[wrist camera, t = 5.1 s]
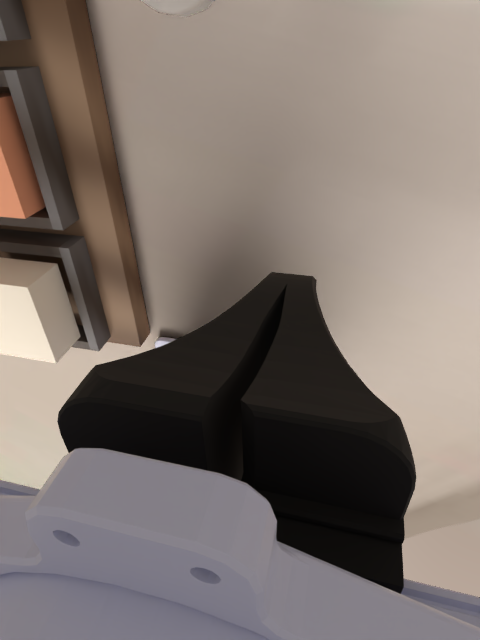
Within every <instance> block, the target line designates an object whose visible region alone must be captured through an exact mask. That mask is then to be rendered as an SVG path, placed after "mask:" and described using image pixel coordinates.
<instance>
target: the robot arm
mask: <svg viewBox="0 0 480 640" xmlns="http://www.w3.org/2000/svg"><path fill="white" fill-rule="evenodd" d="M58 425H59V429H60V433H61V436H62V438H63V440H64V443H65V445H66V447H67V450H68V452H69V454H67V455H66V456H64V457H63V458H62V459H61V461H60V462H59V464H58V465H57V467H56V468H55V470H54V471H53V472H52V474H51V475H50V477H49V478H48V480H47V481H46V483H45V484H44V485H43V487H42V488H41V490H39V489H35V488H31V487H27V486H23V485H19V484H15V483H11V482H7V481H3V480H0V640H480V597H476V596H472V595H468V594H464V593H460V592H456V591H452V590H448V589H444V588H440V587H436V586H431V585H427V584H423V583H419V582H415V581H411V580H407V579H403V561H402V543H403V541H404V535H405V534H404V515H405V513H406V510H407V507H408V505H409V502H410V500H411V497H412V494H413V492H414V489H415V482H416V472H415V465H414V460H413V456H412V452H411V448H410V445H409V441H408V438H407V435H406V432H405V430H404V427H403V424H402V422H401V419H400V417H399V416H398V415H397V414H396V413H395V412H394V411H393V410H391V409H390V408H389V407H388V406H387V405H386V404H384V403H383V402H382V401H381V400H380V399H379V398H378V397H376V396H375V395H374V394H373V393H372V392H371V391H370V390H369V389H368V388H367V387H366V385H365V384H364V383H363V382H362V381H361V379H360V378H359V377H358V376H357V374H356V373H355V372H354V371H353V369H352V368H351V367H350V366H349V364H348V363H347V361H346V360H345V358H344V357H343V355H342V354H341V352H340V350H339V349H338V347H337V345H336V344H335V342H334V340H333V338H332V336H331V334H330V332H329V330H328V327H327V325H326V323H325V320H324V318H323V315H322V312H321V309H320V306H319V302H318V298H317V293H316V279H315V278H314V277H313V276H304V275H294V274H284V273H274V272H272V273H270V274H269V275H268V276H267V277H266V278H265V279H263V280H262V281H261V282H260V283H259V284H258V285H257V286H256V287H255V288H254V289H253V290H251V291H250V292H249V293H248V294H247V295H246V296H244V297H243V298H242V299H241V300H240V301H238V302H237V303H236V304H235V305H234V306H232V307H231V308H230V309H228V310H227V311H225V312H224V313H223V314H221V315H220V316H219V317H217V318H216V319H214V320H212V321H211V322H209V323H208V324H206V325H204V326H202V327H201V328H199V329H197V330H195V331H193V332H191V333H189V334H187V335H185V336H183V337H181V338H178V339H173V338H166V337H159V338H158V339H157V340H156V342H155V349H152V350H149V351H146V352H143V353H140V354H137V355H134V356H131V357H127V358H123V359H119V360H116V361H112V362H108V363H104V364H100V365H95V367H94V368H93V369H92V370H91V371H90V372H89V373H88V375H87V376H86V377H85V378H84V379H83V381H82V382H81V383H80V385H79V386H78V387H77V388H76V390H75V391H74V392H73V394H72V395H71V396H70V398H69V399H68V400H67V401H66V403H65V404H64V405H63V407H62V408H61V410H60V411H59V414H58Z"/></svg>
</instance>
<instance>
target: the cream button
mask: <svg viewBox="0 0 480 640" xmlns="http://www.w3.org/2000/svg"><path fill="white" fill-rule="evenodd" d="M80 337H81V336H80V333H79V330H78V327H77V323H76V320H75V317H74V314H73V311H72V308H71V305H70V302H69V299H68V295H67V292H66V289H65V286H64V283H63V280H62V277H61V274H60V270H59V267H58V264H56V263H47V262H37V261H28V260H19V259H10V258H1V257H0V354H4V355H10V356H16V357H22V358H28V359H34V360H40V361H46V362H52V363H57V362H58V361H59V360H60V359H61V358H62V357H63V355H64V354H65V353H66V352H67V351H68V350H69V349H70V348H71V347H72V345H73V344H74V343H75V342H76V341H77V340H78V339H79V338H80Z"/></svg>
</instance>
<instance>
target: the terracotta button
mask: <svg viewBox="0 0 480 640" xmlns="http://www.w3.org/2000/svg"><path fill="white" fill-rule="evenodd" d="M45 207H46V205H45V202H44V199H43V196H42V192H41V189H40V186H39V183H38V180H37V176H36V173H35V170H34V167H33V163H32V160H31V157H30V154H29V151H28V147H27V144H26V141H25V138H24V135H23V131H22V128H21V125H20V122H19V118H18V115H17V112H16V109H15V106H14V102H13V99H12V96H11V93H10V92H0V217H9V218H21V219H26V218H28V217H30V216H31V215H33V214H35V213H36V212H38V211H40V210H41V209H43V208H45Z"/></svg>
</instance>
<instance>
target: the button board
mask: <svg viewBox="0 0 480 640" xmlns="http://www.w3.org/2000/svg"><path fill="white" fill-rule="evenodd" d="M0 92H10V93H11V96H12V99H13V102H14V106H15V109H16V112H17V115H18V118H19V122H20V125H21V128H22V131H23V135H24V138H25V141H26V144H27V147H28V151H29V154H30V157H31V160H32V163H33V167H34V170H35V173H36V176H37V180H38V183H39V186H40V189H41V192H42V196H43V199H44V202H45V205H46V207H45V208H43V209H41V210H40V211H38V212H36V213H35V214H33V215H31V216H30V217H28V218H26V219H21V218H9V217H0V257H1V258H10V259H19V260H28V261H37V262H47V263H56V264H58V267H59V270H60V274H61V277H62V280H63V283H64V286H65V289H66V292H67V295H68V299H69V302H70V305H71V308H72V311H73V314H74V317H75V320H76V323H77V327H78V330H79V333H80V336H81V337H80V338H79V339H78V340H77V341H76V342H75V343H74V344H73V345H72V347H75V348H82V349H88V350H94V351H100V349H101V348H102V347H103V346H104V344H105V343H106V342H112V343H119V344H125V345H132V346H139V347H141V345H142V344H143V342H144V341H145V340H146V338H147V337H148V335H149V334H150V329H149V324H148V319H147V314H146V309H145V304H144V299H143V293H142V288H141V283H140V278H139V273H138V268H137V263H136V257H135V252H134V247H133V242H132V237H131V232H130V227H129V222H128V216H127V211H126V206H125V201H124V196H123V191H122V186H121V180H120V175H119V170H118V165H117V160H116V155H115V150H114V144H113V139H112V134H111V129H110V124H109V119H108V114H107V109H106V103H105V98H104V93H103V88H102V83H101V78H100V73H99V67H98V62H97V57H96V52H95V47H94V42H93V37H92V31H91V26H90V21H89V16H88V11H87V6H86V1H85V0H0Z"/></svg>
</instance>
